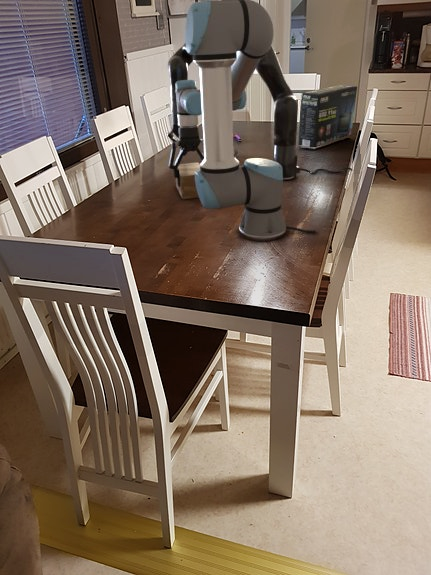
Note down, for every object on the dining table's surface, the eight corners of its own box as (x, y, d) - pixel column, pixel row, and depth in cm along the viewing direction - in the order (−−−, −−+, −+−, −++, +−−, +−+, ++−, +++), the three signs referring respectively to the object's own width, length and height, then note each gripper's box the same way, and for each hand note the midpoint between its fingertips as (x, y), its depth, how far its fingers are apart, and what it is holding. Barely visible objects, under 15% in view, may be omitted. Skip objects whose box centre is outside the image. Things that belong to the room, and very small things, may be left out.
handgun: (221, 135, 268) (221, 132, 267) (234, 134, 269) (234, 130, 268) (228, 143, 251) (228, 140, 250) (242, 142, 252) (242, 138, 251)
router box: (314, 151, 231) (318, 94, 217) (296, 148, 237) (299, 92, 224) (352, 138, 251) (358, 85, 238) (335, 135, 258) (340, 83, 245)
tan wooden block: (176, 186, 192) (174, 164, 188) (199, 183, 194) (198, 162, 189) (182, 199, 179) (180, 176, 174) (207, 196, 181) (206, 173, 176)
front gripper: (215, 121, 175) (217, 178, 187) (157, 126, 171) (162, 184, 183) (220, 125, 169) (222, 183, 180) (159, 130, 165) (165, 190, 176)
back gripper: (195, 108, 187) (197, 151, 196) (163, 111, 185) (166, 154, 194) (198, 112, 181) (201, 156, 190) (165, 114, 179) (169, 159, 188)
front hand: (192, 184), depth 181 cm, fingers closed on tan wooden block, 10 cm apart
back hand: (183, 155), depth 192 cm, fingers closed
